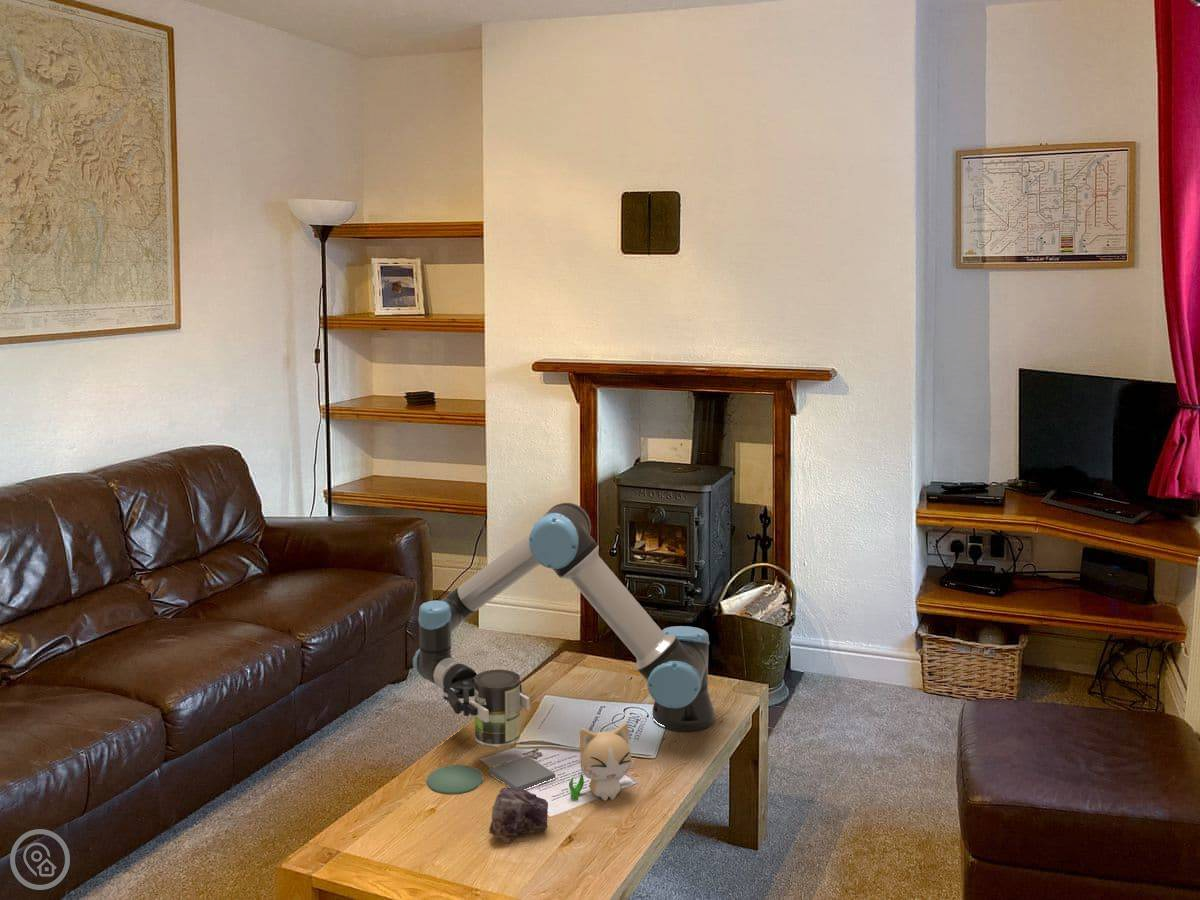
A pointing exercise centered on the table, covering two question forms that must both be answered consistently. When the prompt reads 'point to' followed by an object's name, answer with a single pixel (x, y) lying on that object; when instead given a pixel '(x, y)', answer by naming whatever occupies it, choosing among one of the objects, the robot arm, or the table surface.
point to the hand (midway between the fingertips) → (508, 710)
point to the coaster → (454, 779)
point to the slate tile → (521, 773)
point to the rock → (517, 814)
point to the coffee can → (498, 707)
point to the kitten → (603, 761)
